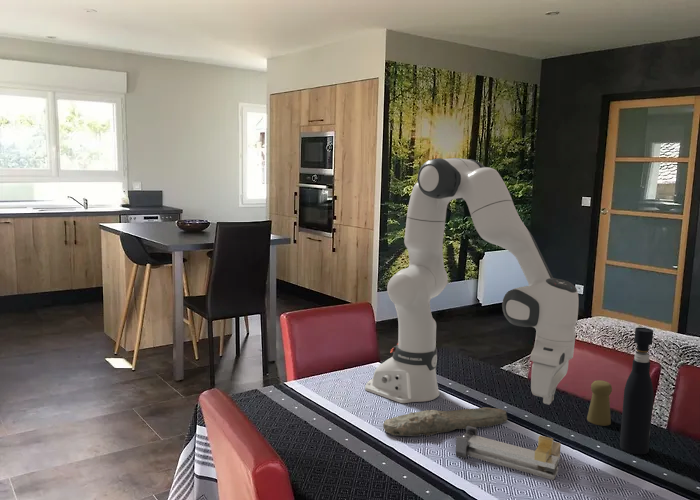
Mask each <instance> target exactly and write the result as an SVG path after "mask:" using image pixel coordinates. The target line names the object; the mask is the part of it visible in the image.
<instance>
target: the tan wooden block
mask: <svg viewBox="0 0 700 500" xmlns="http://www.w3.org/2000/svg"><path fill="white" fill-rule="evenodd" d="M561 446H562V443H561V442H558V441H554V440H553V452H552V455H553V456H557V457H559V459H560V458H561Z"/></svg>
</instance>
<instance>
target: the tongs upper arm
mask: <svg viewBox="0 0 700 500" xmlns="http://www.w3.org/2000/svg"><path fill="white" fill-rule="evenodd" d="M461 437H465V438H467V446H469V447H472V448H476V449H480V450H483V451H487V452H491V453H494V454H498V455H502V456H506V457H509V458H513V459H517V460H520V461H524V462H528V463H531V464H535V465H539V466H542V467H545V470H546V471H549V472H553V473H554V472H555V471H556V469H557V467H558V468H559V465H560V464H559V462H560V458H559V457H557V456H553V455H551V456H549V458H548V459H547V461H546V463H545V462H541V461H538V460H534V458H535V450H533V449H529V448H525V447H522V446H518V445H515V444H510V443H507V442H503V441H502V442H501V441H499V440H495V439H491V438H486V437H483V436H480V435H477V436H476V435H474V433H473V432H472V431H467V432H466V431H465V433H464V434H463V435H461Z"/></svg>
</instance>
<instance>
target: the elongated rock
mask: <svg viewBox="0 0 700 500" xmlns="http://www.w3.org/2000/svg"><path fill="white" fill-rule="evenodd" d="M507 421H508V416H507V410H504V409H503V408H492V407H486V406H485V407H477V408H464V409H463V408H462V409H453V410H437V409H431V410H430V409H425V410H421V411H414V412H411V411H410V412H409V413H408V414H402V415H397V416H395V417H391V418H388V419H385V421H383V424H382V425H383V430H384V431H385V432H386V433H388V434H390V435H392V436H405V437H406V436H407V437H415V436H416V437H417V436H427V437H429V436H431V435H432V436H433V435H436V434H440V433H441V434H442V433H443V434H444V433H447V432H448V433H449V432H452V431H455V430H463V429H464V430H465V431H466V427H467V426H471V427H475V428H488V427H494V426H496V425H501V424H504V423H506V422H507Z"/></svg>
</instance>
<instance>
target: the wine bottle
mask: <svg viewBox="0 0 700 500" xmlns="http://www.w3.org/2000/svg"><path fill="white" fill-rule="evenodd" d="M653 339H654V330H653V329H652V328H648V327H642V326H641V327H636V328H634V340H633V341H634V343H635V344H636V351H635V352H634V357H633V359H632V364H631V365H632V366H631V372H630V373H629V376H627V377H628V378H627V379H626V382H625V386H624V389H623V398H622V399H623V403H622V411H621V412H622V415H621V424H620V425H621V426H620V437H619V447H620V448H621V450H623V451H624V452H627V453H629V454H633V455H645V454H648V453H649V451H650V450H649V449H650V439H651V429H652V418H653V417H652V416H653V406H654V397H655V393H654V385H653V382H652V378H651V374H650V372H651V371H650V370H651V361H650V360H651V359H650V358H651V356H650V353H649V352H650V351H649V348H650V347H649V346H651V345H653V342H654V341H653Z"/></svg>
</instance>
